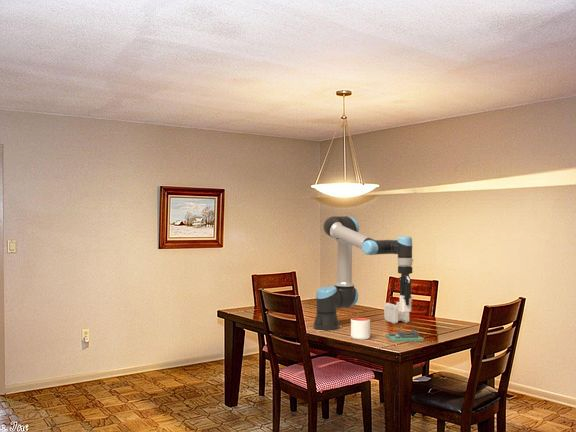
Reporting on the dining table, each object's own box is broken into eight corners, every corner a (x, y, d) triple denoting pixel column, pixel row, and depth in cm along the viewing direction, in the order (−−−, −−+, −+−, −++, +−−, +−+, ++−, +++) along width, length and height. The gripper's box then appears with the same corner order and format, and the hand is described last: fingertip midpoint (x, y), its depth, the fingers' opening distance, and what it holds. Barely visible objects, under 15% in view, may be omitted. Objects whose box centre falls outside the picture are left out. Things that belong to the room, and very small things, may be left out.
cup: (368, 336, 299) (368, 317, 299) (371, 340, 289) (371, 320, 289) (349, 336, 299) (349, 317, 299) (352, 340, 289) (352, 321, 289)
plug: (401, 311, 290) (401, 295, 290) (399, 310, 294) (399, 294, 294) (412, 311, 290) (412, 295, 290) (410, 310, 294) (410, 294, 294)
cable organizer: (410, 324, 336) (410, 304, 336) (394, 324, 333) (394, 305, 333) (398, 319, 350) (398, 301, 351) (383, 320, 347) (383, 302, 348)
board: (393, 341, 285) (393, 333, 285) (385, 336, 299) (385, 328, 299) (423, 341, 287) (423, 332, 287) (414, 335, 301) (414, 327, 301)
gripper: (417, 266, 284) (417, 312, 284) (407, 264, 301) (407, 308, 301) (402, 267, 284) (403, 313, 283) (393, 264, 301) (393, 308, 300)
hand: (405, 310), depth 292 cm, fingers closed on plug, 4 cm apart
